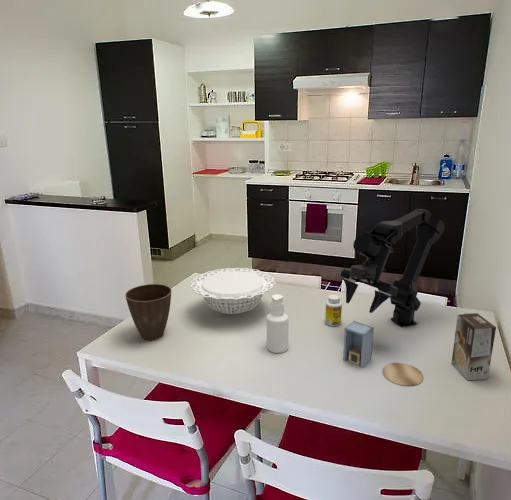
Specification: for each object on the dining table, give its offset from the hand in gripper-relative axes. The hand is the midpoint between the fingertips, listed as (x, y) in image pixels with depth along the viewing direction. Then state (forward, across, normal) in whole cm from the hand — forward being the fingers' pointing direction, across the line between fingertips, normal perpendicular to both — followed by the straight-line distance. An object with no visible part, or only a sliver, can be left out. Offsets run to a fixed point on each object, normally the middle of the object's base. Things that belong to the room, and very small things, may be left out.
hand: (358, 307), depth 132 cm
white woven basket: (+20, -45, -9) cm, 50 cm away
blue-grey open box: (+15, +6, 0) cm, 16 cm away
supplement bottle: (+9, -15, +11) cm, 21 cm away
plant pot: (+34, -48, -37) cm, 70 cm away
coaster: (+13, +19, +4) cm, 23 cm away
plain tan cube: (+15, +6, 0) cm, 16 cm away
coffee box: (+6, +30, +18) cm, 35 cm away
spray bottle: (+22, -14, -12) cm, 29 cm away
